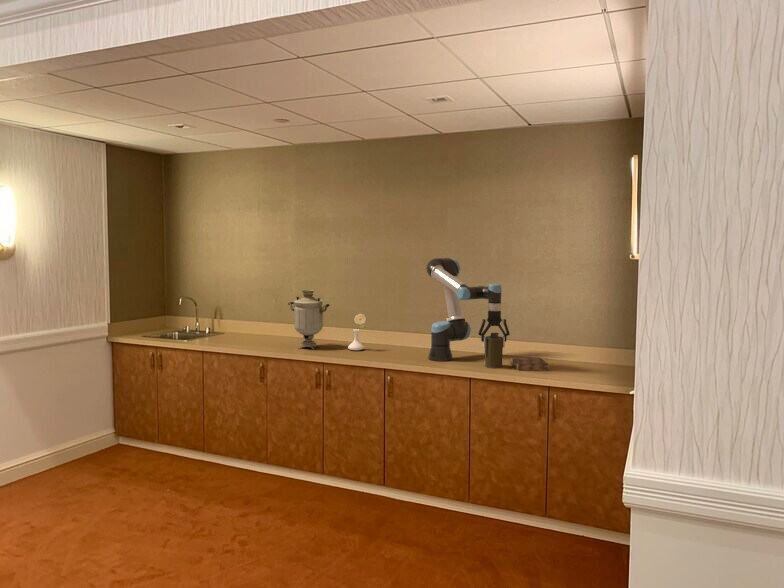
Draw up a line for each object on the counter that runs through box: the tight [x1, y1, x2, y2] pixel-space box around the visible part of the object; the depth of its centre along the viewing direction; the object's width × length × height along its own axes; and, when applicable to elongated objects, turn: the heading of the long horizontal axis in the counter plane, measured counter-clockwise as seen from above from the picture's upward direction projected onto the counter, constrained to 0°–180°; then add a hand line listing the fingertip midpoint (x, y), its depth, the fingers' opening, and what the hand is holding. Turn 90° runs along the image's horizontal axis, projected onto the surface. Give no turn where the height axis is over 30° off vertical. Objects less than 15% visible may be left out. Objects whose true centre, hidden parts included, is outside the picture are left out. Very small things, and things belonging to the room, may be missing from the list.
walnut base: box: [510, 357, 550, 371], centre depth 356 cm, size 18×18×4 cm
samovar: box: [287, 289, 330, 350], centre depth 418 cm, size 30×26×40 cm
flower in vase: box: [347, 313, 367, 351], centre depth 408 cm, size 13×11×25 cm
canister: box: [484, 332, 504, 369], centre depth 357 cm, size 11×10×20 cm
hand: (493, 347), depth 357 cm, fingers closed on canister, 11 cm apart
